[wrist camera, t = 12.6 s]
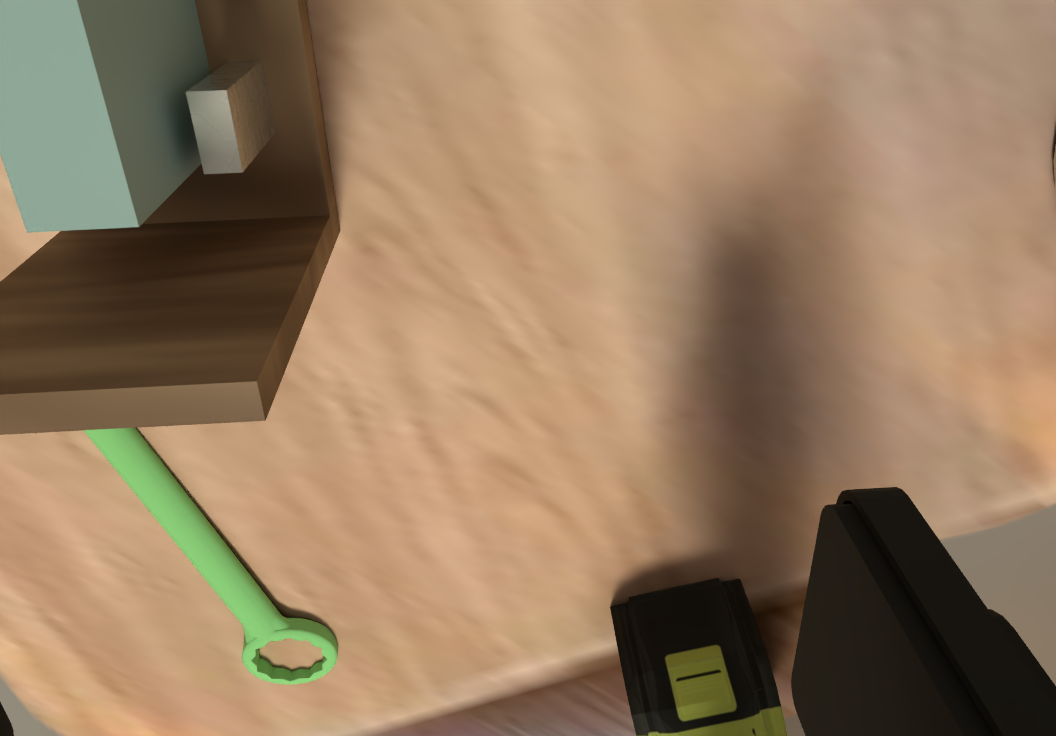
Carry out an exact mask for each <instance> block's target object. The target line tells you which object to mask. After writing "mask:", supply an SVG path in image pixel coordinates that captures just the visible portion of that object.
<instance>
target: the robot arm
mask: <svg viewBox="0 0 1056 736" xmlns="http://www.w3.org/2000/svg"><path fill="white" fill-rule="evenodd" d="M1054 175H1055V188H1056V146H1055V153H1054ZM791 685H792V695H793V701H794V705H795V709H796V712H797V715H798V717H799V720H800V722H801V725H802V728H803V730H804V732H805V735H806V736H1056V686H1055V685H1054V683H1053V682H1052V680H1051V679H1050V678H1049V676H1048V675H1047V674H1046V672H1045V671H1044V669H1043V668H1042V667H1041V665H1040V664H1039V662H1038V661H1037V660H1036V658H1035V657H1034V655H1033V654H1032V653H1031V651H1030V650H1029V649H1028V647H1027V646H1026V644H1025V643H1024V642H1023V640H1022V639H1021V637H1020V636H1019V635H1018V633H1017V632H1016V630H1015V629H1014V628H1013V627H1012V626H1011V625H1010V623H1009V622H1008V621H1007V620H1006V619H1005V618H1004V617H1003V616H1002V615H1000V614H998V613H996V612H994V611H993V610H991V609H987V607H986V606H985V605H984V603H983V602H982V600H981V599H980V598H979V596H978V595H977V593H976V592H975V590H974V589H973V588H972V586H971V585H970V583H969V582H968V580H967V579H966V577H965V576H964V575H963V573H962V572H961V570H960V569H959V568H958V566H957V565H956V563H955V562H954V561H953V559H952V558H951V556H950V555H949V553H948V552H947V550H946V549H945V548H944V546H943V545H942V544H941V542H940V541H939V539H938V538H937V536H936V535H935V533H934V532H933V531H932V529H931V528H930V526H929V525H928V523H927V522H926V521H925V519H924V518H923V516H922V515H921V513H920V512H919V511H918V509H917V508H916V506H915V505H914V504H913V502H912V501H911V499H910V498H909V496H908V495H907V494H906V493H905V492H904V491H903V490H902V489H900V488H897V487H890V488H872V489H854V490H845V491H842V492H841V494H840V495H839V497H838V500H837V503H836V504H833V505H826V506H825V507H824V508H823V510H822V513H821V517H820V522H819V528H818V533H817V539H816V544H815V550H814V555H813V561H812V566H811V572H810V577H809V583H808V588H807V594H806V599H805V605H804V610H803V616H802V621H801V627H800V633H799V638H798V644H797V649H796V655H795V660H794V666H793V671H792V679H791ZM0 736H14V734H13V728H12V725H11V722H10V720H9V718H8V716H7V714H6V712H5V710H4V708H3V707H2V705H1V702H0Z"/></svg>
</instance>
